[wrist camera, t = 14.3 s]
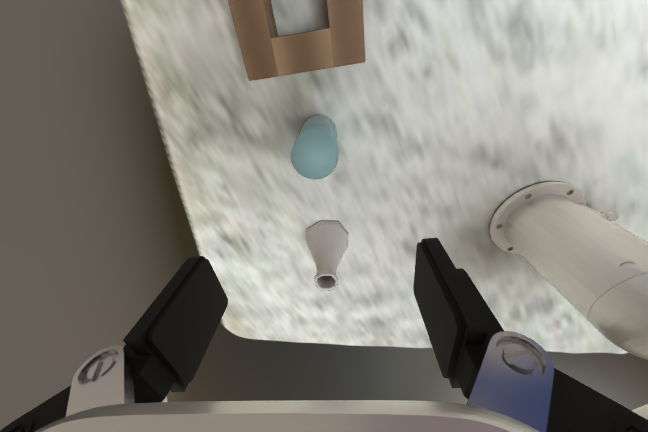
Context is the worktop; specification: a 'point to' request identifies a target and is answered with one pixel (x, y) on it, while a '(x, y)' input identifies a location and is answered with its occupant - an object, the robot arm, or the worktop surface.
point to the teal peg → (315, 148)
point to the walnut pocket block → (297, 39)
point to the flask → (327, 251)
